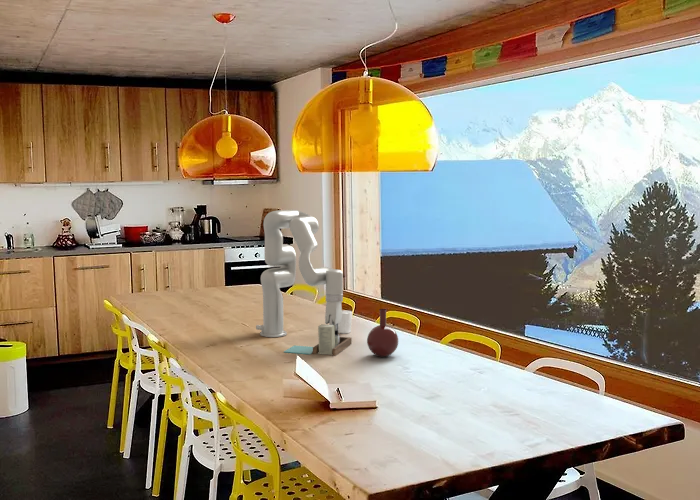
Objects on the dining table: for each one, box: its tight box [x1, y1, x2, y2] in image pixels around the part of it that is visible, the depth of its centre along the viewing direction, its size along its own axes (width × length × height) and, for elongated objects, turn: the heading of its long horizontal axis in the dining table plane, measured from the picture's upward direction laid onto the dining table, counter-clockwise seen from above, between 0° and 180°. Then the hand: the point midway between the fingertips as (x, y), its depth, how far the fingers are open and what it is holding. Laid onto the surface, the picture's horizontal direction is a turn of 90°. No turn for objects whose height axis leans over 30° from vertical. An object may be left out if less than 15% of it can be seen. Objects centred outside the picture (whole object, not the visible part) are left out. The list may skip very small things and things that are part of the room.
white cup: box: [338, 309, 353, 335], centre depth 363 cm, size 8×8×10 cm
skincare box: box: [317, 324, 335, 356], centre depth 320 cm, size 6×4×12 cm
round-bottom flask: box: [366, 308, 399, 358], centre depth 315 cm, size 13×13×20 cm
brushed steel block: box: [335, 334, 341, 347], centre depth 325 cm, size 6×6×6 cm
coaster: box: [283, 345, 314, 355], centre depth 326 cm, size 12×12×1 cm
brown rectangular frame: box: [312, 336, 353, 357], centre depth 329 cm, size 10×23×3 cm, turn 163°
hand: (334, 338), depth 330 cm, fingers closed
